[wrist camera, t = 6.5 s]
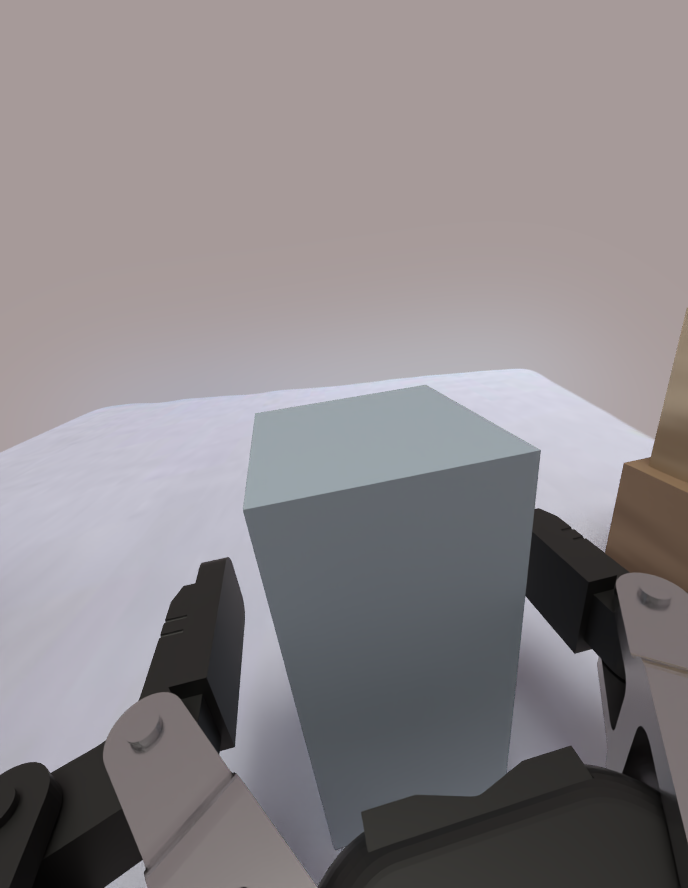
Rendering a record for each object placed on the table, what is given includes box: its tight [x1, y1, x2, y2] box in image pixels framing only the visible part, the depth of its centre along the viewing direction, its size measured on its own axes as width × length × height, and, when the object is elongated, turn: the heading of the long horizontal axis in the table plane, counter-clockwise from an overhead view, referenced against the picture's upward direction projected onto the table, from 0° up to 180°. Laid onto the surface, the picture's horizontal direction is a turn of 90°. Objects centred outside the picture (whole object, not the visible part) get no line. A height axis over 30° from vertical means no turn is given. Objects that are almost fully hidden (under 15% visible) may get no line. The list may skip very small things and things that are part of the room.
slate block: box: [243, 385, 541, 850], centre depth 10 cm, size 5×5×11 cm
